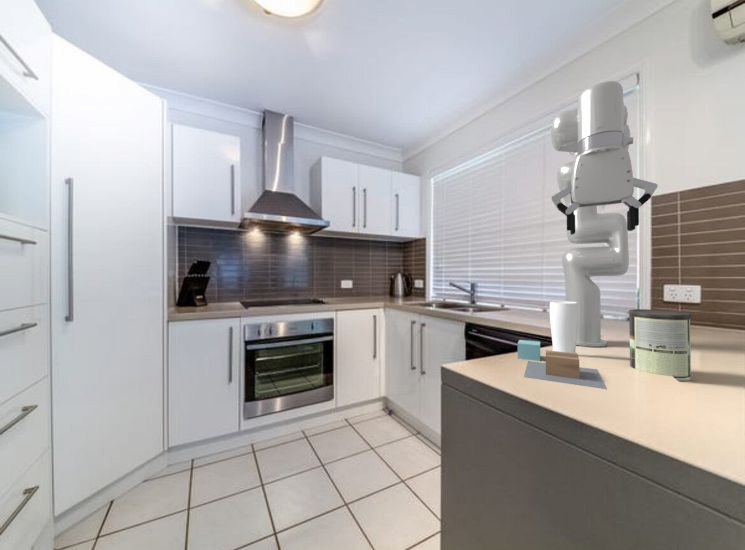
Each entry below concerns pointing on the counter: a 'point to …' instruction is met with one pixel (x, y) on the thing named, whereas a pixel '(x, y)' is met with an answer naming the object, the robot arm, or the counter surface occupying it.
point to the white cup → (564, 325)
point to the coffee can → (660, 342)
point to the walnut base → (562, 364)
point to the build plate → (585, 374)
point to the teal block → (529, 350)
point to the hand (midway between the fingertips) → (600, 231)
